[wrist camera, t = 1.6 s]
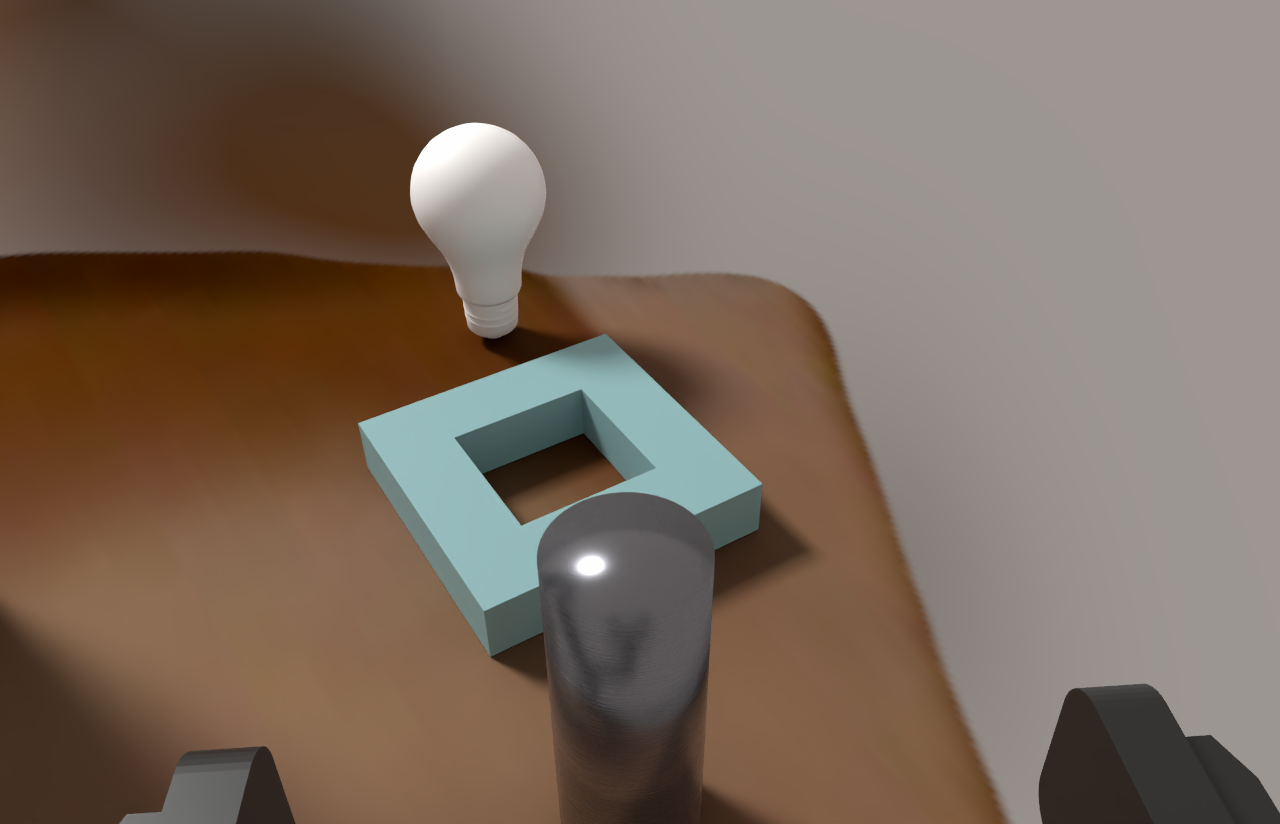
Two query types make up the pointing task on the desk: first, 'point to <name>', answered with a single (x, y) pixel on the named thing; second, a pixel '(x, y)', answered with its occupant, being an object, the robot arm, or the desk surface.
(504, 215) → the lightbulb
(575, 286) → the desk surface
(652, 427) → the frame
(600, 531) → the brushed steel cylinder
